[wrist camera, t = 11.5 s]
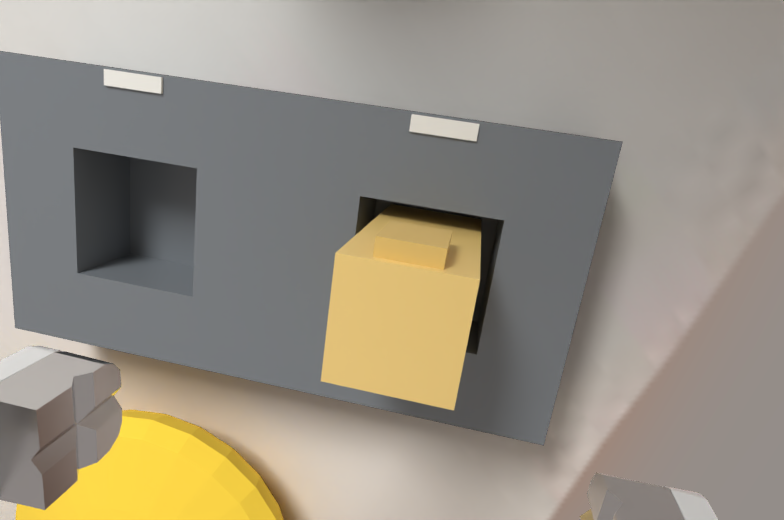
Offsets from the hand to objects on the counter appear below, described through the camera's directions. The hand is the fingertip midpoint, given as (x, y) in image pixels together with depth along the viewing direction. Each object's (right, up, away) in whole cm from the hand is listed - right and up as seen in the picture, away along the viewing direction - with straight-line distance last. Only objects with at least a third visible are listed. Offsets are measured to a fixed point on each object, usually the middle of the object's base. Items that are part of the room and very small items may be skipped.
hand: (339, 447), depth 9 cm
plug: (+3, +3, +14) cm, 15 cm away
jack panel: (-3, +5, +16) cm, 17 cm away
